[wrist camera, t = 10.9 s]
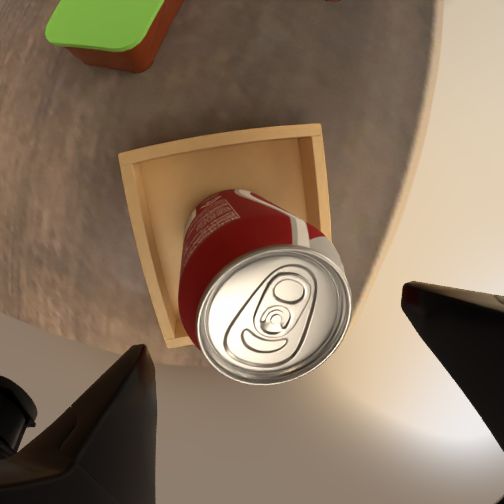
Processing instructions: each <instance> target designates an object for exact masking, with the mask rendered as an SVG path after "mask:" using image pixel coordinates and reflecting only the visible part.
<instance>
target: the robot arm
mask: <svg viewBox="0 0 504 504" xmlns="http://www.w3.org/2000/svg"><path fill="white" fill-rule="evenodd" d="M401 307H402V310H403V311H404V313H405V314H406V316H407V317H408V319H409V320H410V322H411V323H412V325H413V326H414V328H415V329H416V331H417V332H418V334H419V335H420V337H421V338H422V339H423V341H424V342H425V343H426V344H427V346H428V347H429V348H430V349H431V351H432V352H433V353H434V355H435V356H436V357H437V358H438V360H439V361H440V362H441V364H442V365H443V366H444V367H445V369H446V370H447V371H448V373H449V374H450V375H451V377H452V378H453V379H454V380H455V382H456V383H457V384H458V386H459V387H460V388H461V390H462V391H463V392H464V394H465V395H466V397H467V398H468V399H469V401H470V402H471V404H472V405H473V406H474V408H475V409H476V411H477V412H478V414H479V415H480V416H481V417H482V419H483V421H484V422H485V424H486V425H487V427H488V428H489V430H490V431H491V433H492V434H493V436H494V438H495V439H496V441H497V442H498V444H499V445H500V447H501V448H502V450H503V451H504V296H499V295H492V294H487V293H481V292H475V291H469V290H464V289H458V288H452V287H446V286H440V285H434V284H428V283H422V282H416V281H411V282H409V283H405V284H404V286H403V289H402V299H401ZM155 382H156V381H155V367H154V364H153V361H152V359H151V356H150V354H149V351H148V349H147V347H146V345H145V344H139V345H133V346H132V347H131V348H130V349H128V350H127V351H126V352H125V353H124V354H123V355H122V356H121V357H120V358H119V360H117V361H116V362H115V363H114V364H113V365H112V366H111V367H110V368H109V369H108V370H107V371H106V372H105V373H104V374H103V375H102V376H101V377H100V378H99V379H98V380H97V381H96V382H95V383H94V384H92V385H91V386H90V387H89V388H88V389H87V390H86V391H85V392H84V393H83V394H82V395H81V396H80V397H79V398H78V399H77V400H76V401H75V402H74V403H73V404H72V405H71V407H69V408H68V409H67V410H66V411H65V412H64V413H63V414H62V415H61V416H60V417H59V418H58V419H57V420H56V421H54V422H53V423H52V424H51V425H50V426H49V427H48V428H46V429H45V430H44V431H43V432H42V433H41V434H40V435H38V436H37V437H36V438H35V439H33V440H32V441H31V442H30V443H29V444H27V445H26V446H25V447H24V448H22V449H21V450H20V451H19V452H17V451H18V448H19V445H20V442H21V440H22V437H23V435H24V432H25V430H26V428H27V427H35V426H36V423H35V422H34V421H33V419H32V418H31V417H30V415H29V414H28V413H27V411H26V410H25V409H24V407H23V406H22V404H21V403H20V402H19V400H18V399H17V397H16V396H15V394H14V393H13V391H12V390H11V389H9V388H0V504H155V454H156V453H155V452H156V451H155V450H156V425H157V399H156V383H155ZM495 504H504V495H503V496H502V497H501V498H500V499H499V500H498V501H497V502H496V503H495Z"/></svg>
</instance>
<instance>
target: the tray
mask: <svg viewBox="0 0 504 504" xmlns="http://www.w3.org/2000/svg"><path fill="white" fill-rule="evenodd" d="M321 135H322V129H321V124H320V123H318V124H300V125H286V126H274V127H264V128H254V129H246V130H238V131H230V132H223V133H216V134H210V135H204V136H198V137H192V138H186V139H181V140H176V141H171V142H166V143H161V144H156V145H151V146H147V147H143V148H138V149H134V150H130V151H126V152H122V153H119V154H118V157H119V164H120V169H121V175H122V181H123V186H124V191H125V196H126V201H127V206H128V211H129V216H130V220H131V225H132V229H133V233H134V238H135V242H136V246H137V250H138V254H139V258H140V261H141V265H142V269H143V272H144V276H145V280H146V283H147V287H148V290H149V293H150V297H151V300H152V303H153V307H154V310H155V313H156V316H157V319H158V322H159V325H160V328H161V331H162V334H163V337H164V340H165V343H166V346H167V348H175V347H181V346H186V345H192V344H194V343H193V342H192V341H191V339H190V338H189V336H188V335H187V333H186V331H185V329H184V326H183V324H182V321H181V318H180V314H179V308H178V291H179V279H180V269H181V259H182V250H183V241H184V232H185V227H186V224H187V221H188V219H189V217H190V215H191V213H192V212H193V210H194V209H195V208H196V206H197V205H198V204H199V203H200V202H201V201H203V200H204V199H205V198H207V197H208V196H210V195H212V194H214V193H217V192H219V191H223V190H228V189H241V190H246V191H250V192H253V193H255V194H257V195H259V196H261V197H263V198H265V199H266V200H268V201H270V202H272V203H274V204H276V205H277V206H279V207H281V208H283V209H284V210H286V211H288V212H290V213H292V214H293V215H295V216H297V217H299V218H300V219H302V220H304V221H306V222H307V223H309V224H311V225H312V226H314V227H315V228H317V229H318V230H319V231H321V232H322V233H323V234H324V235H325V236H326V237H327V238H328V239H329V240H330V242H331V243H332V241H331V224H330V209H329V196H328V185H327V174H326V164H325V155H324V146H323V138H322V136H321Z"/></svg>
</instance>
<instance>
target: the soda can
mask: <svg viewBox="0 0 504 504" xmlns="http://www.w3.org/2000/svg"><path fill="white" fill-rule="evenodd" d="M178 308H179V314H180V318H181V321H182V324H183V326H184V329H185V331H186V333H187V335H188V336H189V338H190V339H191V341H192V342H193V343H194V344H195V345H196V347H197V348H198V349H199V350H201V351H202V353H203V355H204V357H205V358H206V360H207V361H208V362H209V363H210V365H211V366H212V367H213V368H214V369H216V370H217V371H218V372H219V373H221V374H222V375H224V376H226V377H227V378H229V379H232V380H234V381H237V382H240V383H244V384H249V385H258V386H267V385H276V384H282V383H286V382H289V381H292V380H295V379H298V378H300V377H302V376H304V375H306V374H308V373H310V372H311V371H313V370H314V369H316V368H317V367H319V366H320V365H321V364H322V363H324V362H325V361H326V360H327V359H328V358H329V357H330V356H331V355H332V354H333V353H334V351H335V350H336V349H337V348H338V346H339V345H340V343H341V342H342V340H343V338H344V336H345V334H346V332H347V329H348V327H349V324H350V320H351V315H352V295H351V290H350V287H349V284H348V282H347V279H346V278H345V273H344V268H343V264H342V261H341V258H340V256H339V254H338V252H337V250H336V249H335V247H334V245H333V244H332V243H331V242H330V240H329V239H328V238H327V237H326V236H325V235H324V234H323V233H322V232H321V231H319V230H318V229H317V228H315V227H314V226H312V225H311V224H309V223H307V222H306V221H304V220H302V219H300V218H299V217H297V216H295V215H293V214H292V213H290V212H288V211H286V210H284V209H283V208H281V207H279V206H277V205H276V204H274V203H272V202H270V201H268V200H266V199H265V198H263V197H261V196H259V195H257V194H255V193H253V192H250V191H246V190H241V189H228V190H223V191H219V192H217V193H214V194H212V195H210V196H208V197H207V198H205V199H204V200H203V201H201V202H200V203H199V204H198V205H197V206H196V208H195V209H194V210H193V212H192V213H191V215H190V217H189V219H188V221H187V224H186V227H185V232H184V241H183V250H182V259H181V269H180V279H179V291H178Z"/></svg>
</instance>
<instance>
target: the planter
mask: <svg viewBox="0 0 504 504" xmlns="http://www.w3.org/2000/svg"><path fill="white" fill-rule="evenodd" d="M325 1H339V0H325ZM183 2H184V0H61V1H60V2H59V4H58V6H57V8H56V9H55V11H54V13H53V14H52V16H51V18H50V20H49V22H48V24H47V26H46V29H45V37H46V38H47V40H48V41H49V42H50V43H52V44H53V45H56V46H64V47H65V48H66V49H67V50H68V51H70V52H71V53H72V54H73V55H74V56H76V57H77V58H78V59H79V60H80V61H81V62H83V63H84V64H86V65H90V66H97V67H104V68H110V69H116V70H121V71H127V72H132V73H140V72H143V71H145V70H147V69H148V68H149V67H150V66H151V64H152V63H153V61H154V58H155V56H156V54H157V52H158V50H159V48H160V45H161V43H162V41H163V39H164V37H165V35H166V33H167V31H168V29H169V27H170V25H171V23H172V22H173V20H174V18H175V16H176V14H177V12H178V10H179V9H180V7H181V5H182V3H183Z"/></svg>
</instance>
